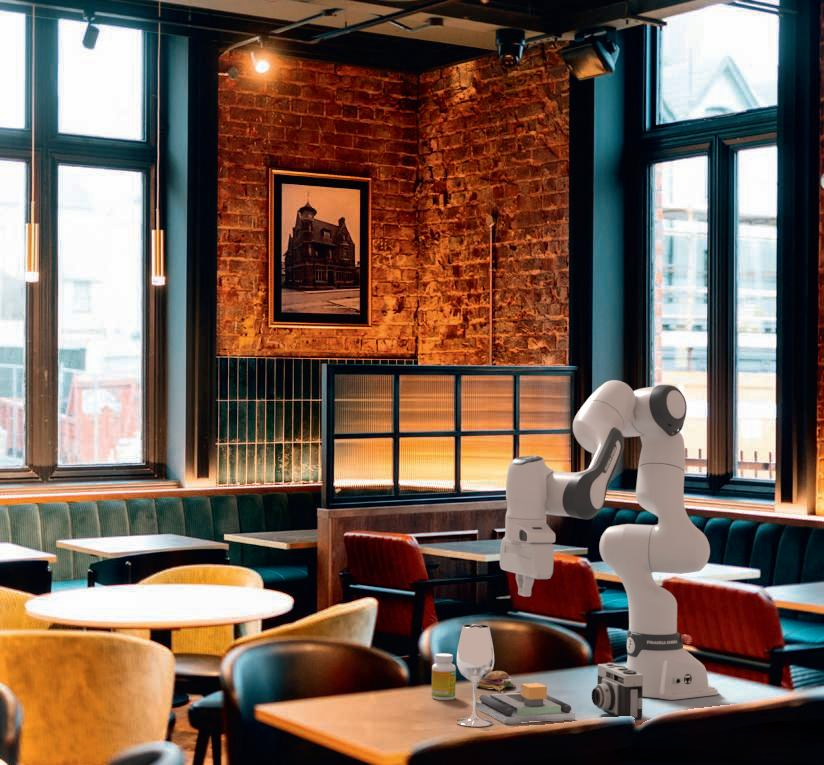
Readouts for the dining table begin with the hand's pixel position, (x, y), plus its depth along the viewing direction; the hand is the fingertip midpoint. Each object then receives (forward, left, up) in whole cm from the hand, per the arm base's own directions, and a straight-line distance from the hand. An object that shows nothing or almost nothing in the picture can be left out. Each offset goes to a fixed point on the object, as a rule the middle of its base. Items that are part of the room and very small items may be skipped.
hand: (524, 595), depth 285 cm
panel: (0, +1, -25) cm, 25 cm away
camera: (-19, +5, -25) cm, 32 cm away
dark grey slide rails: (0, +1, -24) cm, 24 cm away
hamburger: (-5, -26, -26) cm, 37 cm away
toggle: (0, +5, -23) cm, 24 cm away
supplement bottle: (+11, -19, -25) cm, 34 cm away
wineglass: (+14, +6, -25) cm, 29 cm away
